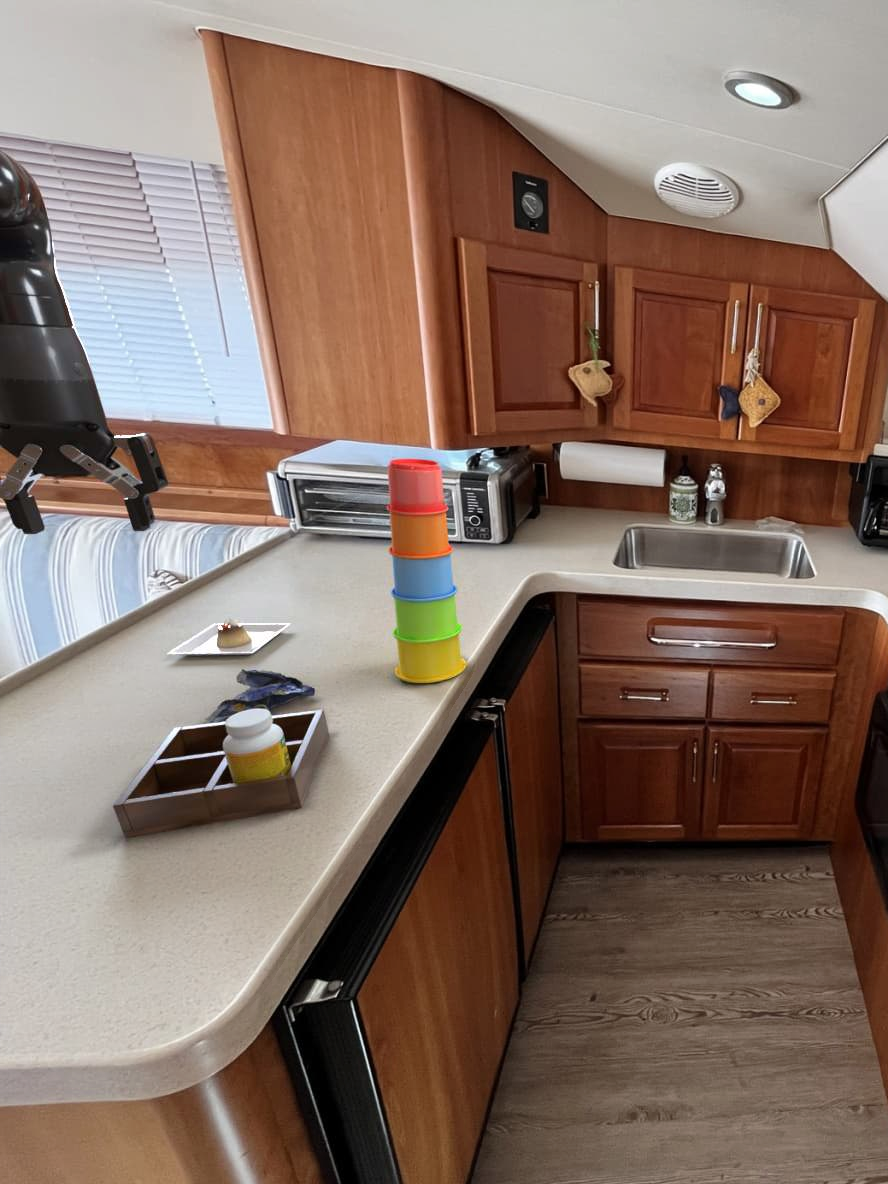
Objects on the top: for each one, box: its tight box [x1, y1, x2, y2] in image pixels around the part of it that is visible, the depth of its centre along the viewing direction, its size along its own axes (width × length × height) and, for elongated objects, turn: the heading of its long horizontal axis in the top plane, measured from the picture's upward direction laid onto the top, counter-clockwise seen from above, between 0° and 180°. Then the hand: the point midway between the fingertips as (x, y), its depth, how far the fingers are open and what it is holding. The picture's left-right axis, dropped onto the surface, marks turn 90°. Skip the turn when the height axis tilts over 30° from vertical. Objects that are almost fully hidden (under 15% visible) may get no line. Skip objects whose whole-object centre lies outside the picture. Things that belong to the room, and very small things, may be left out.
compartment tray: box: [112, 709, 330, 839], centre depth 77 cm, size 15×15×4 cm
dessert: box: [166, 617, 292, 657], centre depth 107 cm, size 12×12×5 cm
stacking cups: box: [386, 458, 467, 684], centre depth 99 cm, size 10×10×35 cm
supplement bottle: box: [223, 709, 291, 783], centre depth 74 cm, size 5×5×10 cm
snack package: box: [203, 668, 316, 724], centre depth 92 cm, size 12×6×12 cm
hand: (90, 531), depth 68 cm, fingers open, 8 cm apart
